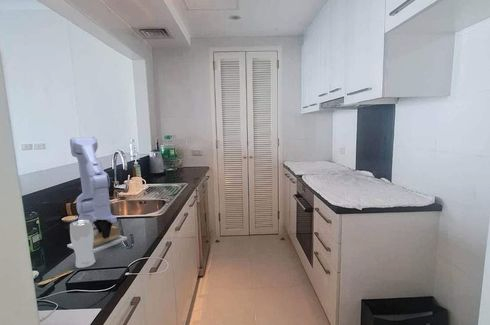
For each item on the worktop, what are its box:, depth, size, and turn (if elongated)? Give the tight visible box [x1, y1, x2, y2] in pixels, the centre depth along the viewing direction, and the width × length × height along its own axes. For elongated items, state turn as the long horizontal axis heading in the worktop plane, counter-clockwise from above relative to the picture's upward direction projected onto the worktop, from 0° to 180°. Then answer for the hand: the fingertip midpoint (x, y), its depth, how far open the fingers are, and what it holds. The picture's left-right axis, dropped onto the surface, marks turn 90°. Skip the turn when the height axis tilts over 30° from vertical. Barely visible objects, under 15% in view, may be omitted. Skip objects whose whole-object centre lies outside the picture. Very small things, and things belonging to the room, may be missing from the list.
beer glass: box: [69, 219, 96, 269], centre depth 93 cm, size 7×7×15 cm
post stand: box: [66, 229, 128, 254], centre depth 112 cm, size 16×16×6 cm
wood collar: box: [93, 225, 121, 247], centre depth 112 cm, size 12×12×4 cm
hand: (105, 237), depth 109 cm, fingers closed on wood collar
